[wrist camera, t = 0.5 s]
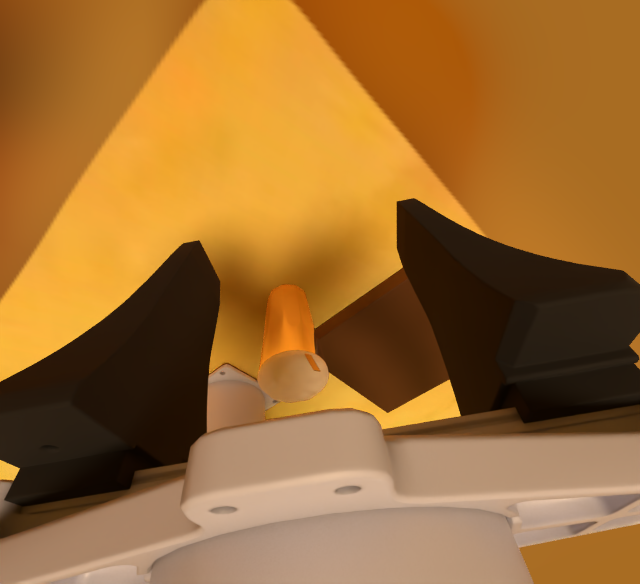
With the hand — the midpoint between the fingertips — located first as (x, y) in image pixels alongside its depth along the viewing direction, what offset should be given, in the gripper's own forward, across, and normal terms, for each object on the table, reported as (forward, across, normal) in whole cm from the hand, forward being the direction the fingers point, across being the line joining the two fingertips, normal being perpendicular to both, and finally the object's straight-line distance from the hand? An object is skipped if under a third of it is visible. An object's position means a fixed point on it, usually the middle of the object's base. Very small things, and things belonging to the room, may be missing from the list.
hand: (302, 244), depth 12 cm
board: (+10, -6, +20) cm, 23 cm away
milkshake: (+10, +3, +12) cm, 16 cm away
